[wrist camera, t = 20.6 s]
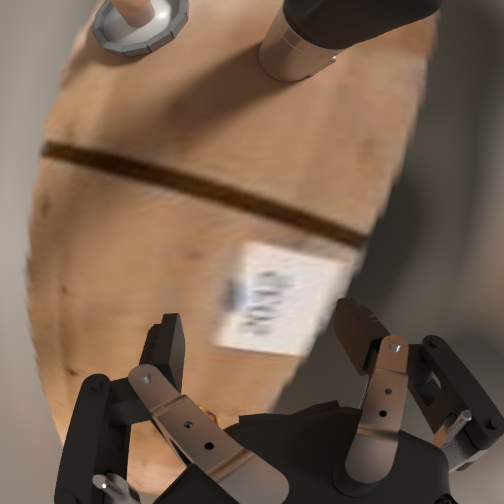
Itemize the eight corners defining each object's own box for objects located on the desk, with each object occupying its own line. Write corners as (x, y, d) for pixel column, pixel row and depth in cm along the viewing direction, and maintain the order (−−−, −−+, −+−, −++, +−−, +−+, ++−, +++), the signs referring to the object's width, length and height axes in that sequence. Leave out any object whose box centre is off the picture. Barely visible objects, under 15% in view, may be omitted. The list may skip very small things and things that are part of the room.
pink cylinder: (156, 3, 28) (141, -32, 17) (153, 24, 30) (136, -9, 19) (128, 8, 27) (106, -23, 16) (125, 30, 29) (100, 1, 18)
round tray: (190, -20, 27) (189, -28, 24) (186, 48, 33) (184, 41, 30) (105, -3, 25) (100, -10, 23) (95, 65, 31) (89, 60, 29)
